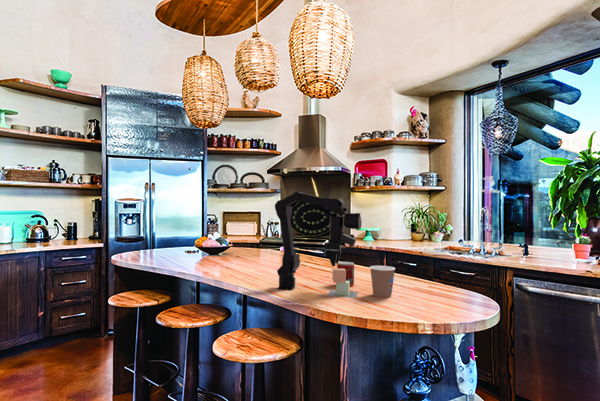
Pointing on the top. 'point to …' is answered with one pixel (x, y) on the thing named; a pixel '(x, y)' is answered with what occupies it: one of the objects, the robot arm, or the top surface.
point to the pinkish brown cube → (339, 275)
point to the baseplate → (351, 295)
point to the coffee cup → (382, 280)
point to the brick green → (342, 288)
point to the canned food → (347, 271)
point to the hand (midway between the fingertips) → (335, 264)
